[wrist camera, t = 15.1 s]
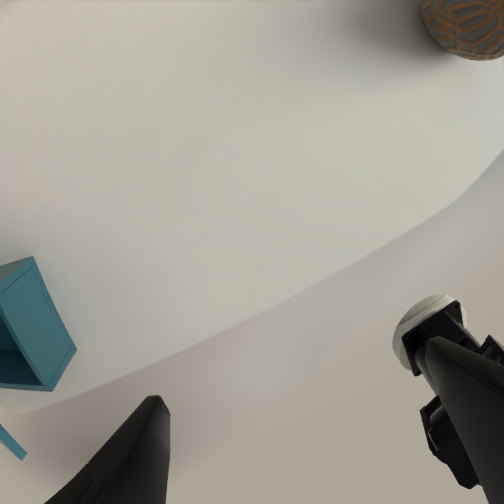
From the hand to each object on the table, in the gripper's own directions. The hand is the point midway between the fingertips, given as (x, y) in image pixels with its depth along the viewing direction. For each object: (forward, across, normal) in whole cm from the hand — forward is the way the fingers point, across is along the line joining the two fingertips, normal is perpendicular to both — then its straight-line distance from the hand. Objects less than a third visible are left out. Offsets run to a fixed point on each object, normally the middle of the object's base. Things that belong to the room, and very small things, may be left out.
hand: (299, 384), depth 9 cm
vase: (+13, -17, -15) cm, 26 cm away
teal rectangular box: (+13, +28, +2) cm, 31 cm away
